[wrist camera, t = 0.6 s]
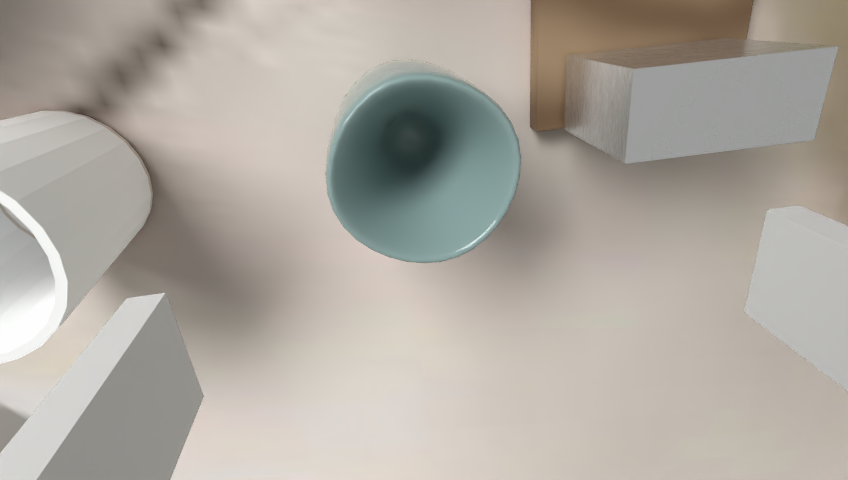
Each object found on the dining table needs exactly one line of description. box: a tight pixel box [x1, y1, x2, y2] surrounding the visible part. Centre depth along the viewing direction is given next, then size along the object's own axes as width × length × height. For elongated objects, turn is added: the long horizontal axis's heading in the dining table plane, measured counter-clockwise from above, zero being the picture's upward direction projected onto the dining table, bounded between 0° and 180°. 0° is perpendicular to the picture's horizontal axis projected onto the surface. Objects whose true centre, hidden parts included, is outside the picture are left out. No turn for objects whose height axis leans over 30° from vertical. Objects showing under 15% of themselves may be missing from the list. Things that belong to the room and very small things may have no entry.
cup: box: [325, 60, 521, 263], centre depth 24 cm, size 8×8×10 cm
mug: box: [0, 110, 153, 364], centre depth 23 cm, size 11×9×10 cm
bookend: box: [564, 38, 838, 164], centre depth 24 cm, size 4×9×7 cm, turn 95°
